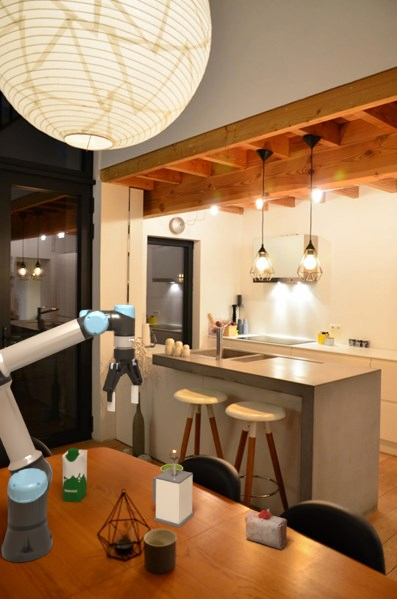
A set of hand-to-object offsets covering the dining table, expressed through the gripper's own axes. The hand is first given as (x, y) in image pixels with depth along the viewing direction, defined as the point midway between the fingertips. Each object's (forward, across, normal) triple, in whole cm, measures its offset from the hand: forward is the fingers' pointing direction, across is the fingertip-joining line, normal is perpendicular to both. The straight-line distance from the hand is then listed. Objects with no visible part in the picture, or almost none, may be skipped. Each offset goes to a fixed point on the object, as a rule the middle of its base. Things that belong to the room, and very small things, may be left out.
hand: (123, 406), depth 165 cm
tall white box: (+40, +10, -14) cm, 44 cm away
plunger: (+35, +10, -16) cm, 40 cm away
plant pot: (+40, +31, -2) cm, 51 cm away
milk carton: (+41, +5, +27) cm, 49 cm away
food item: (+40, +12, -50) cm, 66 cm away
